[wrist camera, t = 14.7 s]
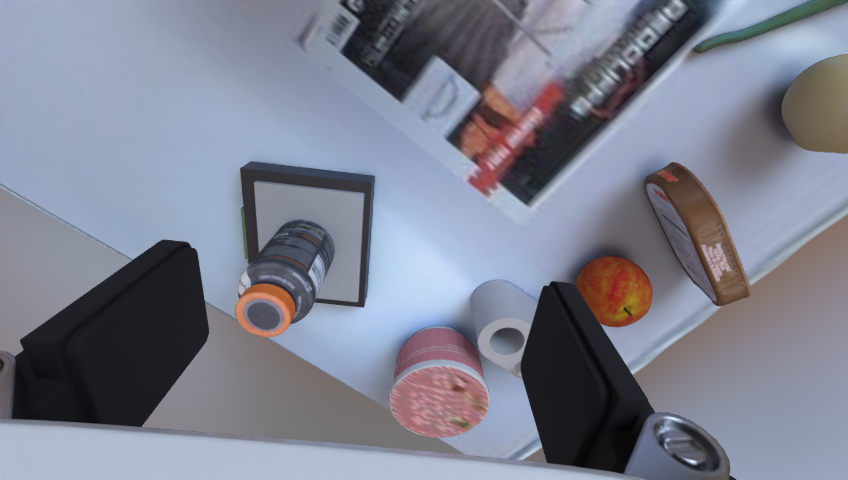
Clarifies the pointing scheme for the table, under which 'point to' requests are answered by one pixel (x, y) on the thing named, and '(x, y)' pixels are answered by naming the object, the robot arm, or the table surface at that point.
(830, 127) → the potato
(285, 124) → the table surface
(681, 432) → the robot arm
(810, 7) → the pliers
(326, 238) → the pill bottle
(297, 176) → the scale
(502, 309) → the grey hollow cylinder
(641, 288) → the fruit
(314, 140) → the table surface
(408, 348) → the container
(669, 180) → the tin
